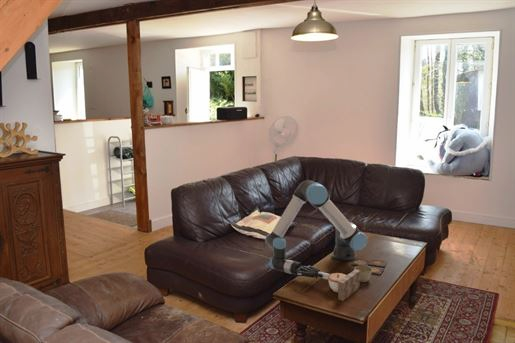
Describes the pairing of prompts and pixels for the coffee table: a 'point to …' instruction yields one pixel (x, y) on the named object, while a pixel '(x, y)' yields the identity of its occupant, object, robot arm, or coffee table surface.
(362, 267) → the flower pot
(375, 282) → the coffee table surface
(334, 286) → the lidded jar
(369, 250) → the coffee table surface
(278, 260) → the robot arm
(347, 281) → the grey brown rectangular panel
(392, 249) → the coffee table surface
